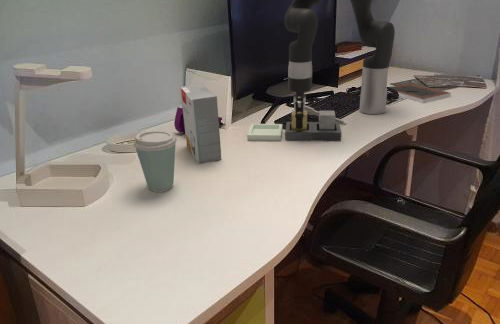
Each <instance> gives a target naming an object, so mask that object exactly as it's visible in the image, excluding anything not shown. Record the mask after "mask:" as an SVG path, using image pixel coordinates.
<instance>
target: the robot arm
mask: <svg viewBox="0 0 500 324" xmlns="http://www.w3.org/2000/svg"><path fill="white" fill-rule="evenodd" d="M349 1H350V3H351V7H352V10H353V14H354V16H355V21H356V25H357V31H358V34H359V39H360V42H361V43H362V44H363V46H364V47H368V48H375V50H374V54H373V55H372V56H371V55H370V56H367V57H365V58H364V59H363V60H362V61H363V62H362V72H361V73H362V74H361V86H360V99H359V112H361V113H362V114H366V115H367V114H368V115H379V114H385V113H386V107H387V98H388V93H387V90H388V89H387V87H388V76H389V75H388V74H389V66H390V61H391V59H392V58H391V57H392V56H393V55H392V54H393V53H392V52H393V48H394V47H393V46H394V42H395V34H396V33H395V26H394V24H393V22H390V21H385V20H384V21H382V20H375V19H374V17H373V14H372V9H371V7H372V3H373V1H374V0H349ZM321 2H322V0H293V1H292V2H291V4H290V5H289V7H288V8H287V9H286V10H287V11H286V12H285V15H284V26H285V28H286V30H287V31H289V32H291V33H296V34H297V33H298V36H297V39H296V40H295V41H294V40H293V41H291V42H290V44H289V47H288V68H287V69H288V71H287V73H288V74H287V75H288V76H287V77H288V78H287V83H288V84H287V86H288V87H287V89H288V91H290V92H294V94H293V103H294V104H293V105H294V107H293V109H294V110H295V111H296V115H295V117H296V128H297V129H302V128H303V117H304V115H303V111H304V110H305V105H306V101H307V99H306V98H307V94H306V93H305V92H309V91H311V90H312V88H313V85H312V84H313V63H312V59H313V58H312V57H313V55H312V54H313V53H312V52H313V51H312V49H313V45H314V41H315V38H316V34H317V30H318V27H319V20H318V16H317V13H316V11H314V9H311V8H312V7H314V6H317V5H319V4H320V3H321ZM304 93H305V94H304ZM297 112H302V114H297Z"/></svg>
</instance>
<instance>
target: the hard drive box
mask: <svg viewBox="0 0 500 324" xmlns="http://www.w3.org/2000/svg"><path fill="white" fill-rule="evenodd" d="M179 90H180V96H181V98H180V99H181V105H182V107H181V108H183V116H184V125H185V134H184V135H185V141H186V146H187V148H188V150H189V151H190V153H191V154H192V156H193V157H194V160H195V161H196V162H197V164H198V165H200V164H204V163H209V162H215V161H216V162H217V161H219V160H222V149H221V135H220V123H219V119H218V117H219V109H218V107H219V106H218V98H217V95H216V94H215V93H213V91H211V90H210V88H208V87H207V86H206V85H204V84H203V83H198V84H191V85H185V86H184V85H183V86H182V85H181V86H179Z"/></svg>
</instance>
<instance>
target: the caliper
mask: <svg viewBox="0 0 500 324" xmlns="http://www.w3.org/2000/svg"><path fill="white" fill-rule="evenodd" d="M304 111H307V116H308V115H309V116H311V117H313V116H316V117H319V111H320V110H319V111H318V110H315V108H313V107H310V106H308V105H306V104H305V110H304ZM335 122H339V123H340V125H344V126H346V125H347V122H345V121H344V120H342V119H340V118H337V117H335Z"/></svg>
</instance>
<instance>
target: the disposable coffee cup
mask: <svg viewBox="0 0 500 324" xmlns="http://www.w3.org/2000/svg"><path fill="white" fill-rule="evenodd" d="M176 145H177V137H176V135H174V134H173V133H172V132H171V131H166V130H162V129H161V130H160V129H159V130H158V129H157V130H155V129H154V130H146V131H142V132H139V133H137V134H136V135H135V137H134V141H133V147H134V149H135V151H136V153H137V156H138V160H139V164H140V166H141V167H140V168H141V170H142V173H143V175H144V179H145V182H146V185H147V187H148V188H149V190H150V191H151V192H154V193H164V192H166V191H169V190H170V189H172V188H173V185H174V181H175V180H174V179H175V160H176Z"/></svg>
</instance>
